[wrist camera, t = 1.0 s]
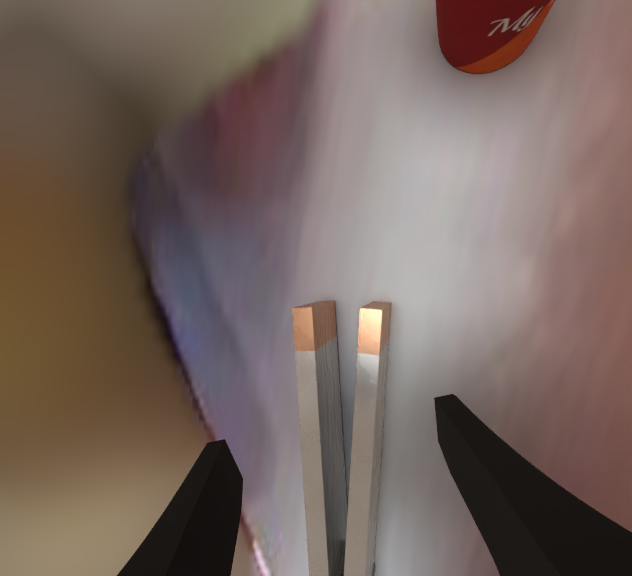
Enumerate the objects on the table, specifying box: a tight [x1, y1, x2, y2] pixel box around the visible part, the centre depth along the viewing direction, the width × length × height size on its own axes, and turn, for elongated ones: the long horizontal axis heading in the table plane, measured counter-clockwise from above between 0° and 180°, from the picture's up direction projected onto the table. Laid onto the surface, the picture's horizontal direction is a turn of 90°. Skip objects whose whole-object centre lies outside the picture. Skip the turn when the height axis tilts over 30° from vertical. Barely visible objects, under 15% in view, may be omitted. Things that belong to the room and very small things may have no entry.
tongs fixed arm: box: [337, 301, 391, 576], centre depth 22 cm, size 20×3×6 cm, turn 176°
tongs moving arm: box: [292, 301, 348, 576], centre depth 22 cm, size 17×1×5 cm, turn 3°
